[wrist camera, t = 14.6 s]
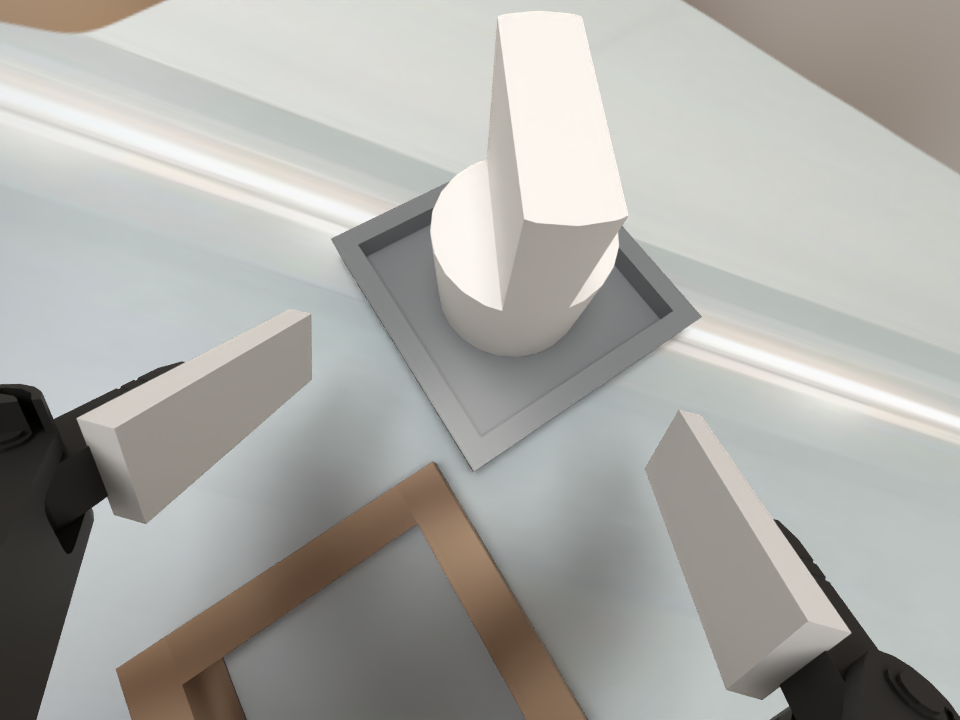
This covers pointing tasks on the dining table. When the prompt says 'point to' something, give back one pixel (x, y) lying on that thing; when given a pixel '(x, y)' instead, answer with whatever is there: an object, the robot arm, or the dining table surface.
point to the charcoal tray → (502, 379)
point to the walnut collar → (230, 622)
